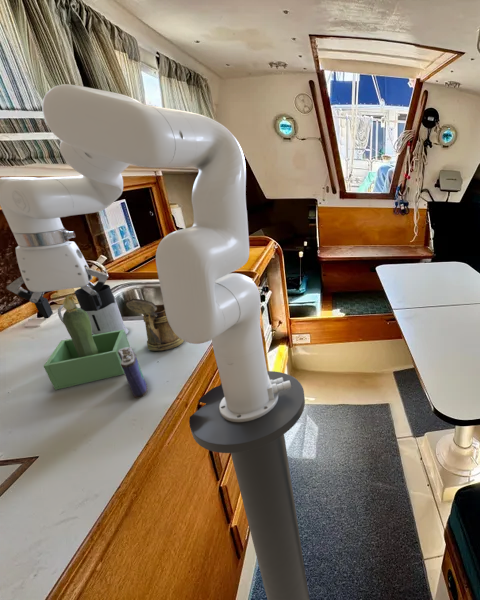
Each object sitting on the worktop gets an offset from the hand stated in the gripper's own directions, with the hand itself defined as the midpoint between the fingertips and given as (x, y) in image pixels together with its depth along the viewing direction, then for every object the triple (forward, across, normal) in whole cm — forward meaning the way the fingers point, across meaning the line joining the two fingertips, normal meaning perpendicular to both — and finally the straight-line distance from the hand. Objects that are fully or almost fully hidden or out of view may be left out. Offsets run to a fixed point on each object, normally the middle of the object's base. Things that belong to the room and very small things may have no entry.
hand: (73, 312), depth 76 cm
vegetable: (+16, 0, 0) cm, 16 cm away
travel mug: (+16, +2, -17) cm, 24 cm away
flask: (+16, -10, +14) cm, 23 cm away
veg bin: (+16, 0, 0) cm, 16 cm away
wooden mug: (+16, -14, -4) cm, 22 cm away
